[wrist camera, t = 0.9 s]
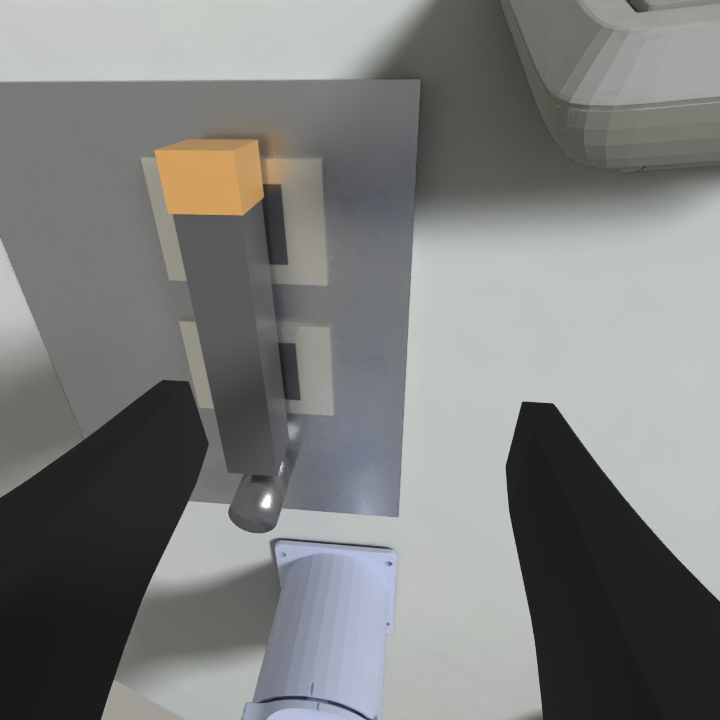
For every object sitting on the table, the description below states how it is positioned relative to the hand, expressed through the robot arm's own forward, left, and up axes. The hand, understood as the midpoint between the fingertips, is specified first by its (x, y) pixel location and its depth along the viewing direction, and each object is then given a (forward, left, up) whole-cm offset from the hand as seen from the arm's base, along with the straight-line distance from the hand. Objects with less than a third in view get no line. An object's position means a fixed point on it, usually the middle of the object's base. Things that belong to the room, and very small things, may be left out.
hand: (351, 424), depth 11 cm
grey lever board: (-5, +8, -12) cm, 15 cm away
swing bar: (-3, +6, -10) cm, 12 cm away
